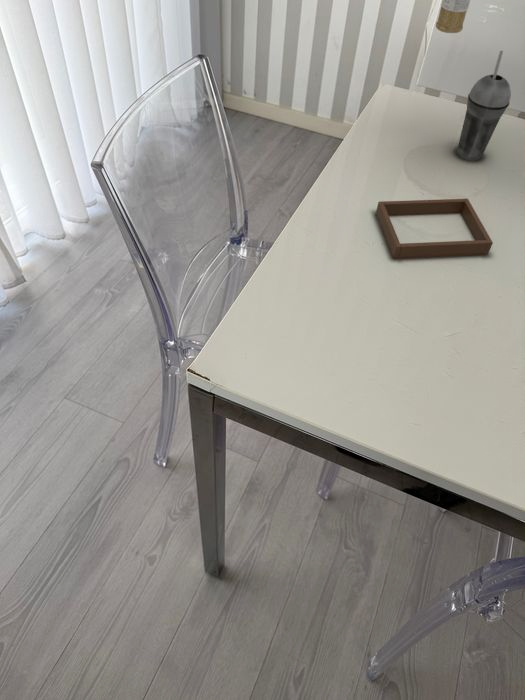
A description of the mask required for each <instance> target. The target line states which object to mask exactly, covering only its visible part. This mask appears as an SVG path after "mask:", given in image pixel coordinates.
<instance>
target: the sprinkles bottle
mask: <svg viewBox="0 0 525 700" xmlns="http://www.w3.org/2000/svg"><path fill="white" fill-rule="evenodd" d="M470 3H471V0H442V1H441V4H440V5H441V6H440V10H439V14H438V17H437V21H436V23H435V28H436V29H437V30H438V31H440V32H442V33H446V34H457V33H460V32H462V31H463V28H464V22H465V20H466V15H467V12H468V10H469V6H470Z"/></svg>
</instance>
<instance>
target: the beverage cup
mask: <svg viewBox="0 0 525 700" xmlns="http://www.w3.org/2000/svg"><path fill="white" fill-rule="evenodd" d="M503 53H504V50H499V53H498V57H497V60H496V64H495V68H494V71H493V74H486V75H485V76H483V77H481V78H480V79H478V80H477V81H476V82H475V83H474V85H473V87H472V88H471V89H470V91H469V93H468V95H467V102H466V103H467V104H466V111H465V115H464V119H463V124H462V128H461V132H460V136H459V141H458V143H457V144H458V145H457V149H456V150H457V151H456V153H457V156H459V157H460V158H461V159H463V160H465V161H469V162H472V161H473V162H475V161H479V160H480V159H481V158H482V156H483V155H484V153H485V151H486V149H487V147H488V144H489V143H490V141H491V138H492V136H493V134H494V132H495V130H496V128H497V126H498V124H499V122H500V120H501V118H502V116H503V115H504V114H505V111H506V110H507V108H508V107H509V106H510V100H511V97H512V92H511V86H510V83H509V82H508V80H507V79H506V78H505V77H503V76H502V75H500V74H498V71H499V68H500V64H501V60H502V58H503V57H502V56H503Z"/></svg>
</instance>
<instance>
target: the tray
mask: <svg viewBox="0 0 525 700" xmlns="http://www.w3.org/2000/svg"><path fill="white" fill-rule="evenodd" d="M446 214H447V215H448V214H450V215H451V214H460V215H461V217H462V219H463V221H464V222H465V224H466V226H467V228H468V230H469V231H470V233H471V235H472V237H473V239H474V240H455V241H453V240H452V241H431V242H429V241H428V242H427V241H426V242H407V243H406V242H405V243H402V242H401V241H400V240H399V237H398V235H397V233H396V230H395V228H394V225H393V222H392V220H391V218H390V217H393V216H395V217H396V216H419V215H422V216H423V215H446ZM375 215H376V219H377V221H378V224H379V226H380V228H381V231H382V233H383V236H384V239H385V241H386V244H387V246H388V249H389V251H390V255H391V257H392V259H393V260H397V259H400V260H401V259H420V258H421V259H422V258H442V257H443V258H445V257H462V256H463V257H465V256H466V257H467V256H486V255H489V252H490V250H491V248H492V246H493V244H494V242H493V240H492V239H491V237H490V235H489V233H488V231H487V230H486V228H485V226H484V224H483V223H482V221H481V219H480V217H479V216H478V214H477V212H476V210H475V209H474V207H473V205H472V203H471V201H470V200H469V198H447V199H446V198H445V199H443V198H442V199H416V200H415V199H414V200H386V201H385V200H383V201H378V203H377V207H376V209H375Z"/></svg>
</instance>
